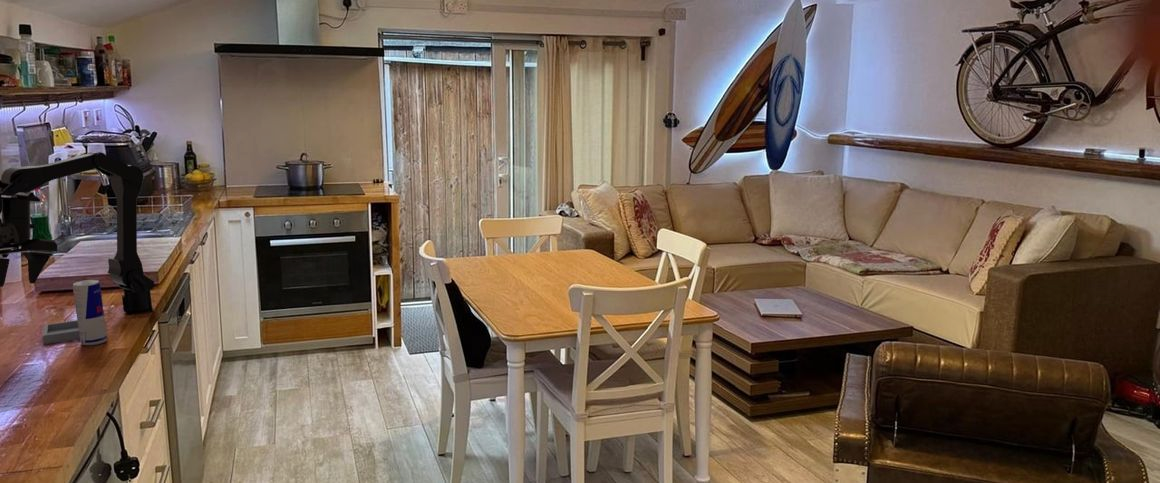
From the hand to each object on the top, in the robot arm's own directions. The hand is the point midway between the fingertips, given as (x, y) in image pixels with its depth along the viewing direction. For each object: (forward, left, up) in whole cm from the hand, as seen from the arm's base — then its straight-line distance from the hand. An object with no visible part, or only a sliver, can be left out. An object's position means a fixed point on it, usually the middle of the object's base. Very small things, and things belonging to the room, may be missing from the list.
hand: (16, 285), depth 200 cm
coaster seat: (-9, -1, -14) cm, 17 cm away
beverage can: (-14, +10, -14) cm, 23 cm away
